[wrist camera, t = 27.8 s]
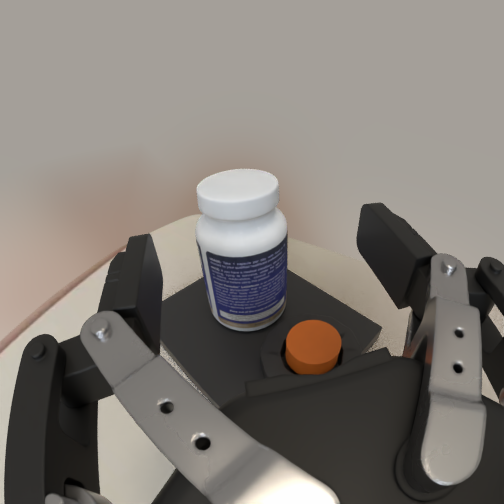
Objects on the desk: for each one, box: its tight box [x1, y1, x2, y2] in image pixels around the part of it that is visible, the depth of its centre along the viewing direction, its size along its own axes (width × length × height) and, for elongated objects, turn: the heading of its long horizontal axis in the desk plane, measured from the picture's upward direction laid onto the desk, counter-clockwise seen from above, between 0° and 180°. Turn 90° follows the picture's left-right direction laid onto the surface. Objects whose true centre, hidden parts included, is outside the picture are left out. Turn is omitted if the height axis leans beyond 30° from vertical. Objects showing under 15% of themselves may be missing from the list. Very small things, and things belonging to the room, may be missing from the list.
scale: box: [160, 269, 382, 409], centre depth 21 cm, size 12×15×3 cm
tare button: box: [285, 320, 341, 375], centre depth 17 cm, size 3×3×2 cm
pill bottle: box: [195, 169, 288, 331], centre depth 20 cm, size 6×6×10 cm
